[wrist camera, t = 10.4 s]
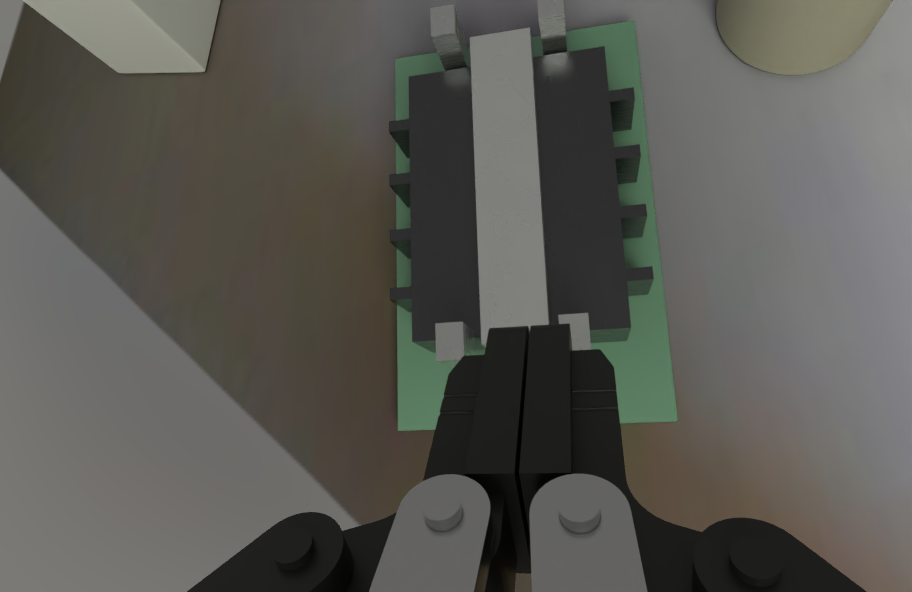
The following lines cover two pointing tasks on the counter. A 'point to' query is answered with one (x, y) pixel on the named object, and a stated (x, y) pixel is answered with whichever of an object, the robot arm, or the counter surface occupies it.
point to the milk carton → (138, 31)
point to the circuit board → (647, 347)
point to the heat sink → (562, 182)
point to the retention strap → (508, 183)
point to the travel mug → (796, 31)
